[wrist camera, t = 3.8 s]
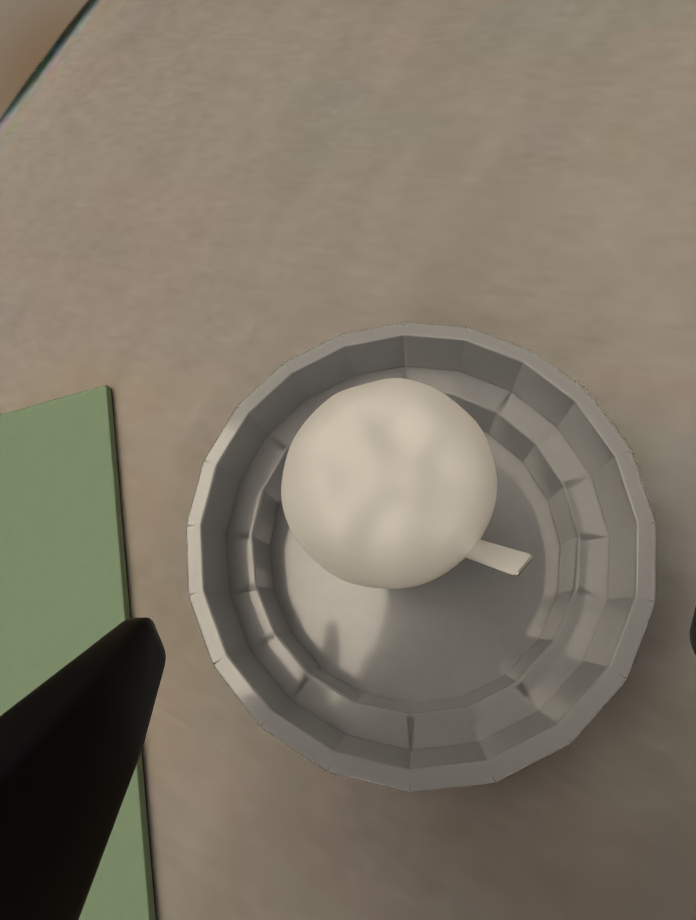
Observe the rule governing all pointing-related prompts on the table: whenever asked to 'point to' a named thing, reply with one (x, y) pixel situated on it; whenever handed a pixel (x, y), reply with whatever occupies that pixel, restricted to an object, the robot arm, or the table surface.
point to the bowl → (441, 600)
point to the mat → (69, 591)
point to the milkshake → (393, 487)
